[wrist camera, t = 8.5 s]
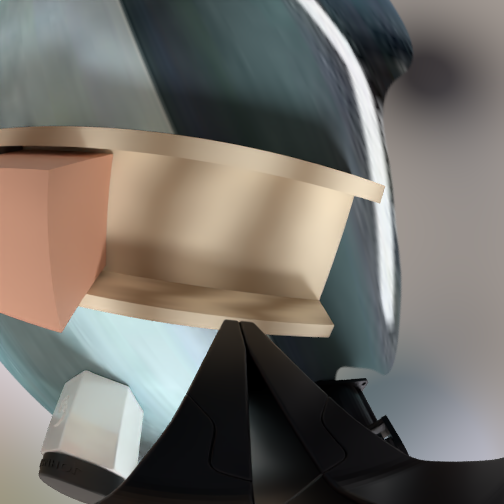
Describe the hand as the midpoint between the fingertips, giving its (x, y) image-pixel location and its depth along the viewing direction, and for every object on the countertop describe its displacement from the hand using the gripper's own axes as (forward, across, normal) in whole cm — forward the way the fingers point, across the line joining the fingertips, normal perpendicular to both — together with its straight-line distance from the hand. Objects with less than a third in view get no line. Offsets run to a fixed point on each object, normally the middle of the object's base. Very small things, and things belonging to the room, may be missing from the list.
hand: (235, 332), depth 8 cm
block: (+9, +11, 0) cm, 14 cm away
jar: (+11, +10, +20) cm, 25 cm away
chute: (+10, +3, 0) cm, 11 cm away
